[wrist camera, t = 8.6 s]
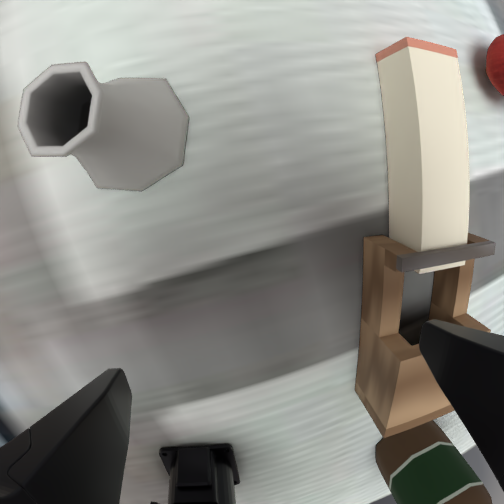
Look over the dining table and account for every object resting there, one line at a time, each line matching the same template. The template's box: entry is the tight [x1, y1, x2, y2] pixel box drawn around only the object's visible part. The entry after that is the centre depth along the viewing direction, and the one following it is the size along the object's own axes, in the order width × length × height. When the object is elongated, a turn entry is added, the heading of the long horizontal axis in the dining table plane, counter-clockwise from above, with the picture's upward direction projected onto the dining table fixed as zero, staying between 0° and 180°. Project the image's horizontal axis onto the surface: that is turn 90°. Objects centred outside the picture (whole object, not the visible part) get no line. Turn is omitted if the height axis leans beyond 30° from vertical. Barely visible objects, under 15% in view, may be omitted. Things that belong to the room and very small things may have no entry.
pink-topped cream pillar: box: [376, 37, 469, 274], centre depth 18 cm, size 14×4×4 cm, turn 5°
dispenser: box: [355, 233, 495, 438], centre depth 20 cm, size 13×8×6 cm, turn 5°
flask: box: [18, 62, 189, 191], centre depth 13 cm, size 7×7×10 cm
